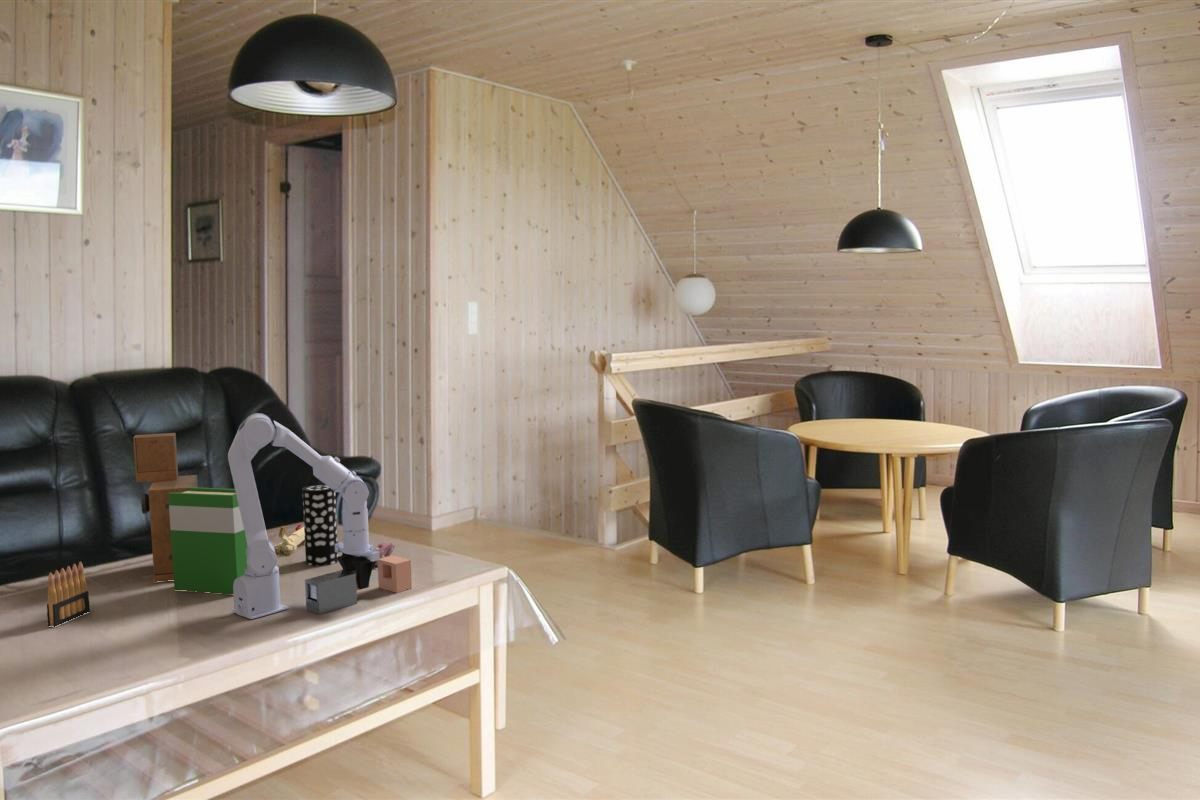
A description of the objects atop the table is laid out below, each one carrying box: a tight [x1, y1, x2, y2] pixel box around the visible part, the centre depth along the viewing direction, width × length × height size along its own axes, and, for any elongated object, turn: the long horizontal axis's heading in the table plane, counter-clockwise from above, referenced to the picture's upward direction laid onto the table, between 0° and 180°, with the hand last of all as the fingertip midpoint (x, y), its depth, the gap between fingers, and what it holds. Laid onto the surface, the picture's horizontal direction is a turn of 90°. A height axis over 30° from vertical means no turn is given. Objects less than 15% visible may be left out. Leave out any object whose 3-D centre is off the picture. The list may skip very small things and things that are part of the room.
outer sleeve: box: [304, 569, 358, 615], centre depth 221 cm, size 10×5×7 cm, turn 140°
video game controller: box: [374, 541, 395, 567], centre depth 256 cm, size 10×5×7 cm, turn 169°
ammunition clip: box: [46, 561, 91, 627], centre depth 215 cm, size 11×2×12 cm, turn 168°
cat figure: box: [273, 522, 305, 556], centre depth 280 cm, size 10×9×25 cm
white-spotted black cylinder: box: [301, 484, 339, 567], centre depth 259 cm, size 8×8×20 cm
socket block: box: [377, 555, 412, 594], centre depth 235 cm, size 4×7×7 cm, turn 50°
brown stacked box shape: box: [133, 432, 199, 583], centre depth 252 cm, size 19×14×35 cm
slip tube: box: [310, 569, 378, 599], centre depth 224 cm, size 17×4×4 cm, turn 140°
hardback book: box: [168, 487, 248, 595], centre depth 236 cm, size 18×7×24 cm, turn 75°
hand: (358, 586), depth 227 cm, fingers closed on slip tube, 4 cm apart
